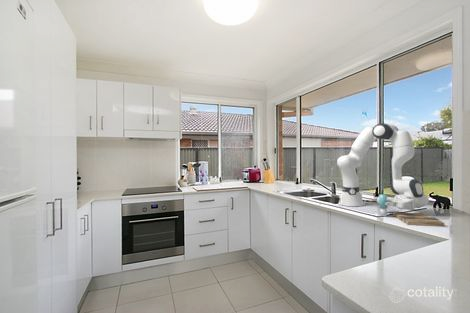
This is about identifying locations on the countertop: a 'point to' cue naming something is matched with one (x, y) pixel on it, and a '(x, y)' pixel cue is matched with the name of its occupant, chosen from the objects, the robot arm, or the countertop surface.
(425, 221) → the board
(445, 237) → the countertop surface
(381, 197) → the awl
